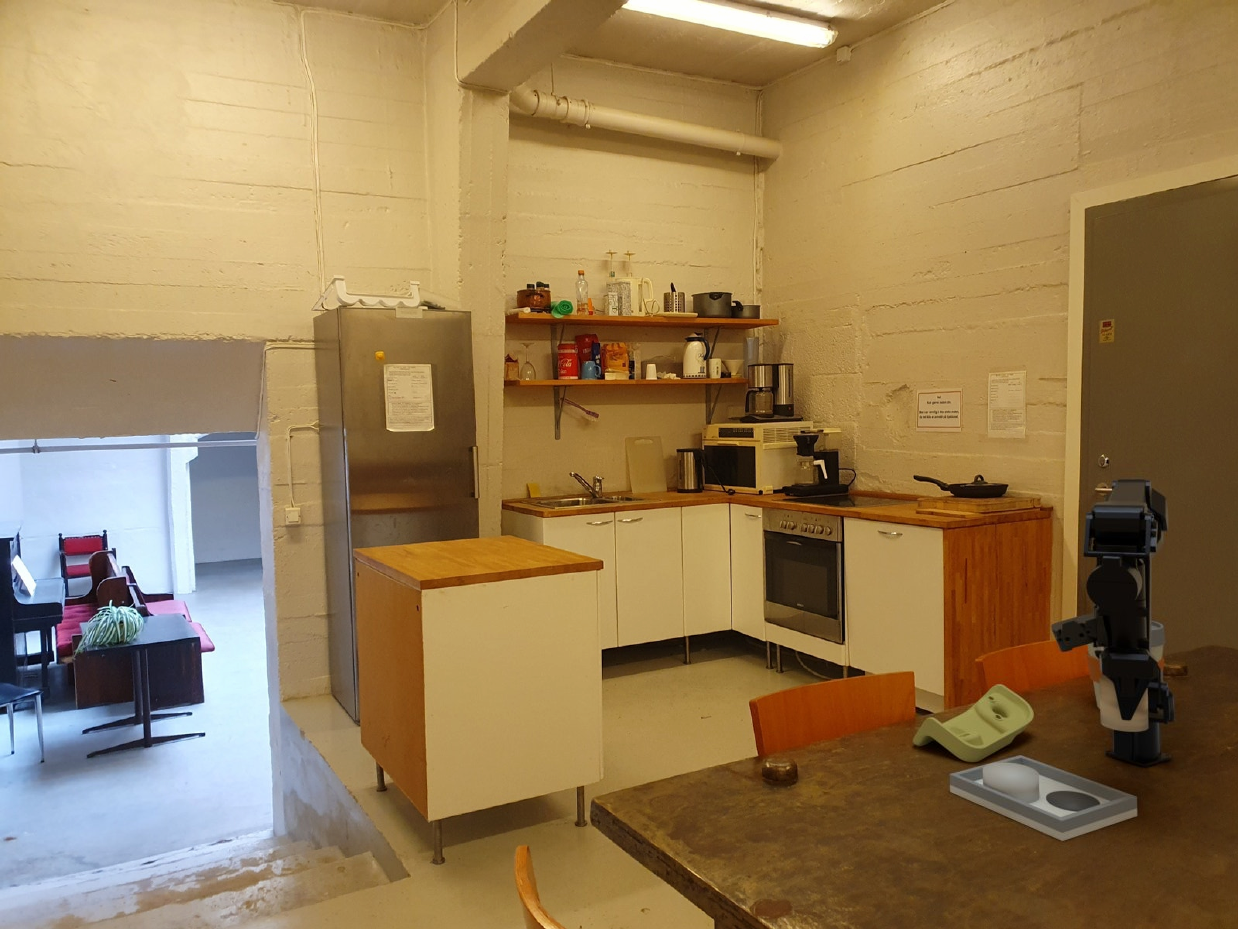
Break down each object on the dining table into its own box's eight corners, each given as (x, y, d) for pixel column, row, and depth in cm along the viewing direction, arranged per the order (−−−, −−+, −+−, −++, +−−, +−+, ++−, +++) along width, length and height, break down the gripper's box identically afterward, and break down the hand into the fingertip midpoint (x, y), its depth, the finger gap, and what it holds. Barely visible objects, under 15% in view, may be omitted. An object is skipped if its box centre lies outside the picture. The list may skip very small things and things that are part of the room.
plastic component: (976, 752, 136) (922, 711, 143) (960, 789, 139) (907, 747, 146) (1045, 714, 148) (992, 677, 155) (1029, 748, 151) (977, 711, 158)
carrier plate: (1021, 772, 134) (1020, 745, 134) (1137, 816, 117) (1136, 785, 117) (950, 791, 128) (949, 763, 127) (1062, 841, 111) (1061, 808, 111)
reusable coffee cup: (1183, 718, 154) (1181, 630, 154) (1108, 721, 154) (1106, 633, 154) (1141, 696, 167) (1139, 615, 166) (1072, 699, 167) (1070, 618, 166)
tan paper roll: (1118, 716, 126) (1117, 670, 126) (1157, 726, 121) (1156, 679, 121) (1091, 723, 124) (1090, 676, 123) (1130, 734, 119) (1129, 685, 118)
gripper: (1051, 584, 134) (1054, 690, 134) (1056, 608, 117) (1060, 729, 117) (1138, 587, 129) (1141, 696, 130) (1157, 612, 112) (1160, 737, 113)
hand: (1123, 713), depth 122 cm, fingers closed on tan paper roll, 6 cm apart
